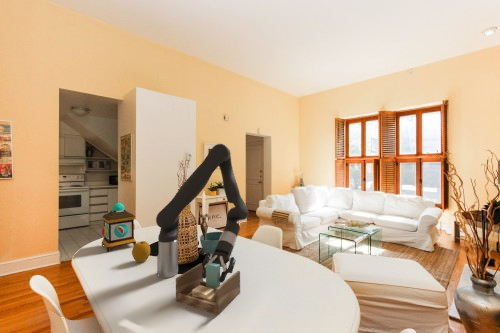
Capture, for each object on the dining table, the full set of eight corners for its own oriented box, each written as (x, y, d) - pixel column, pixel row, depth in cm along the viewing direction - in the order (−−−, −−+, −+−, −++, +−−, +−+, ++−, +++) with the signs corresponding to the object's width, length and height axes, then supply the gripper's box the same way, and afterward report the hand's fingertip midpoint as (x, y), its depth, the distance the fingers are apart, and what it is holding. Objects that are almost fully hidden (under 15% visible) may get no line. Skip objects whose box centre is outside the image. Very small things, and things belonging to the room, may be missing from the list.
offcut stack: (190, 302, 91) (190, 290, 91) (199, 295, 96) (199, 284, 96) (209, 308, 87) (208, 296, 87) (217, 300, 92) (217, 289, 92)
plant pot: (217, 264, 130) (217, 242, 130) (193, 258, 139) (193, 237, 140) (236, 254, 145) (236, 234, 145) (213, 248, 155) (213, 230, 155)
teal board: (206, 293, 97) (205, 264, 97) (209, 290, 99) (209, 262, 99) (217, 296, 95) (217, 266, 95) (220, 293, 97) (220, 264, 97)
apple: (137, 266, 128) (136, 245, 128) (128, 262, 134) (128, 241, 134) (153, 260, 136) (153, 240, 136) (145, 257, 142) (144, 237, 142)
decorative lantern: (130, 240, 176) (129, 200, 176) (138, 246, 161) (138, 202, 161) (99, 246, 162) (98, 203, 162) (105, 253, 148) (104, 206, 148)
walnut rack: (175, 305, 92) (175, 278, 92) (201, 286, 106) (201, 263, 106) (218, 319, 83) (218, 289, 83) (240, 296, 97) (240, 271, 97)
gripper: (209, 237, 107) (193, 272, 97) (237, 241, 101) (223, 279, 91) (216, 245, 112) (202, 280, 102) (242, 249, 106) (230, 287, 96)
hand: (211, 279), depth 96 cm, fingers open, 8 cm apart
